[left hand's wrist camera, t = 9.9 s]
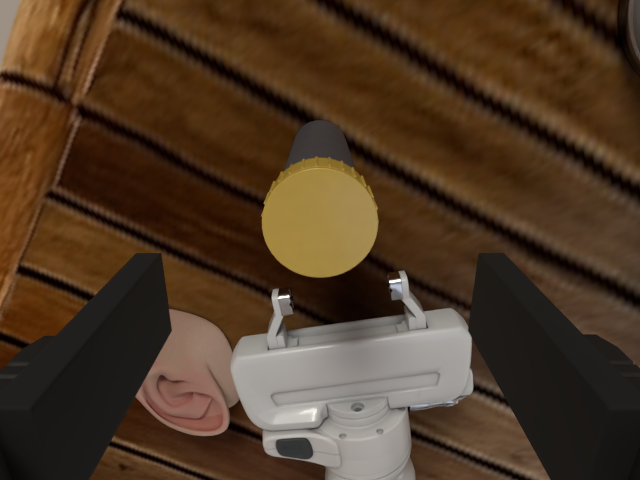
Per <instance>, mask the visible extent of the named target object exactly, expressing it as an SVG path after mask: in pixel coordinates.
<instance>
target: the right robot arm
mask: <svg viewBox="0 0 640 480" xmlns="http://www.w3.org/2000/svg"><path fill="white" fill-rule="evenodd" d="M387 280H388V290H389V294H390V297H391V300H399V299H402V301H403V302H404V303H405V304H406V305H405V306H404V312H405V314H402V315H395V316H388V317H381V318H373V319H366V320H359V321H352V322H345V323H337V324H330V325H323V326H316V327H308V328H301V329H294V330H286V326H285V323H284V322H281V321H282V318H283V316H285V315H291V314H293V308H294V300H293V296H291V295H292V291H291V287H288V288H279V289H273V292H272V303H273V308H274V313H273V315H272V318H271V320H270V323H269V327H268V332H267V333H265V334H258V335H250V336H244V337H242V338H241V339H240V340H239V342H238V344H237V345H236V347H235V349H234V351H233V354H232V358H231V363H230V370H231V375H232V379H233V382H234V385H235V388H236V391H237V393H238V396H239V398H240V401H241V403H242V405H243V407H244V410H245V412H246V414H247V415H248V417H249V418H250V420H251V421H252V422H253V423H254V424H255V425H256V426H258V427H260V428H262V429H263V447H264V450H265V452H266V453H267V454H268V455H271V456H274V457H282V458H290V459H297V460H303V461H308V462H312V463H317V464H320V465H323V466H325V468H326V471H325V480H416V477H415V470H414V466H413V463H412V461H411V459H410V454H411V446H412V443H411V432H410V423H409V414H408V413H409V412H411V411H418V410H426V409H429V408H434V407H441V406H443V407H450V406H454V405H457V404H458V401H459V400H462V399H464V398H466V397H467V396H468V395H470V394H471V393H472V391H473V372H472V369H471V367H470V362H471V351H472V337H471V335H470V333H469V332H468V326H467V324H466V322H465V320H464V319H463V317H462V316H461V315H460V314H458V313H457V312H456V311H455V310H454V309H452V308H445V309H438V310H431V311H423V309H422V306H421V304H420V302H419V301H418V300H417V299H416V297H415V296H414V295H413V294H412V293H411V292H410V290H409V286H408V279H407V276H406V273H405V271H398V272H391V273H387Z"/></svg>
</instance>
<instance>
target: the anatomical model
mask: <svg viewBox="0 0 640 480" xmlns="http://www.w3.org/2000/svg"><path fill="white" fill-rule="evenodd" d="M169 313H170V320H171V327H172V332H171V333H170V335H169V337H168V339H167V341H166V342H165V344H164V346H163V348H162V350H161V351H160V353H159V355H158V357H157V359H156V360H155V362H154V364H153V366H152V368H151V369H150V371H149V373H148V375H147V377H146V378H145V380H144V382H143V384H142V386H141V387H140V389H139V391H138V393H137V395H136V396H135V397H136V398H137V399H138V400H139V401H140V402H141V403H142V404H143V405H144V407H145V408H146V409H147V410H148V411H149V412H150V413H151V414H152V415H153V416H155V417H156V418H157V419H158V420H160V421H161V422H162V423H164V424H166V425H167V426H169V427H171V428H173V429H176V430H178V431H181V432H184V433H187V434H191V435H197V436H212V435H218V434H220V433H222V432H224V431H225V430H226V429H227V428H228V426H229V422H230V412H229V408H230V407H232V406H233V405H235V404H236V403H237V402H238V401H239V399H240V398H239V396H238V393H237V391H236V388H235V385H234V382H233V379H232V375H231V370H230V363H231V358H232V354H233V352H232V349H231V347H230V345H229V343H228V340H227V339H226V337H225V335H224V334H223V333H222V331H221V330H220V329H219V328H218V327H217V326H215V325H214V324H213V323H211V322H209V321H207V320H206V319H203V318H201V317H199V316H196V315H193V314H190V313H186V312H182V311H178V310H173V309H169Z"/></svg>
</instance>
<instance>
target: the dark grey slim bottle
mask: <svg viewBox="0 0 640 480" xmlns="http://www.w3.org/2000/svg"><path fill="white" fill-rule="evenodd" d="M315 156H318V158H328V157H331V159H334V160H337V161H340V162H341V160H342V161H343V163H344V164H346V165H348V166H350V167H351V168H352V167H354V169H355V166H354V163H353V160H352V157H351V154H350V151H349V148H348V145H347V142H346V139H345V137H344V135H343V133H342V131H341V130H340V129H339V128H338V127H337V126H336V125H334V124H333V123H331V122H328V121H324V120H316V121H312V122H309V123H307V124H306V125H304V126H303V127H302V128H301V129H300V130H299V131H298V133H297V135H296V137H295V139H294V142H293V145H292V148H291V151H290V154H289V157H288V160H287V163H286V166H285V169H284V171H285V170H286V169H288V168H289V167H290V165H291V164H293V165H294V164H296V163H298V162H300V161H302V159H305V160H307V159H311V158H315ZM355 171H356V169H355Z"/></svg>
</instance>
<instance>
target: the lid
mask: <svg viewBox="0 0 640 480" xmlns="http://www.w3.org/2000/svg"><path fill="white" fill-rule="evenodd" d="M373 197H374V196H373V194H372V191H371V189H370V186H367V184H366V182H365V180H364V177H363V176H360V175H359V174H358V173H357V172H356V171H355V169H354V167H352V168H351V167H350V166H348V165H346V164H344V163H343V161H342V160H341V162H340V161H337V160H334V159H331V157H328V158H318V156H315V158H311V159H307V160H305V159H302V161H300V162H298V163H296V164H294V165H293V164H291V165H290V167H289V168H288V169H286V170H285V171H284V172H281V173H280V175H279V177H278V179H277V180H276V181H273V183H272V186H271V188H270V191H269V192H268V194H267V196H266V199H265V201H264V204H265V207H264V210H263V212H262V215H261V217H262V230H263V235H264V239H265V242H266V244H267V246H268V248H269V250H270V251H271V253H272V254H273V255H274V257H275V258H276V259H277V260H278V261H279V262H280V263H281V264H282V265H284V266H285V267H287V268H288V269H290V270H292V271H294V272H296V273H298V274H301V275H305V276H309V277H319V278H323V277H331V276H336V275H339V274H342V273H344V272H346V271H348V270H350V269H352V268H353V267H355V266H356V265H358V264H359V263H360V262H361V261H362V260H363V259H364V258H365V257H366V256H367V254H368V253H369V251H370V250H371V248H372V246H373V244H374V242H375V239H376V235H377V231H378V223H379V220H378V215H377V210H378V208H377V205H376V203H375V200H374V198H373Z"/></svg>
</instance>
